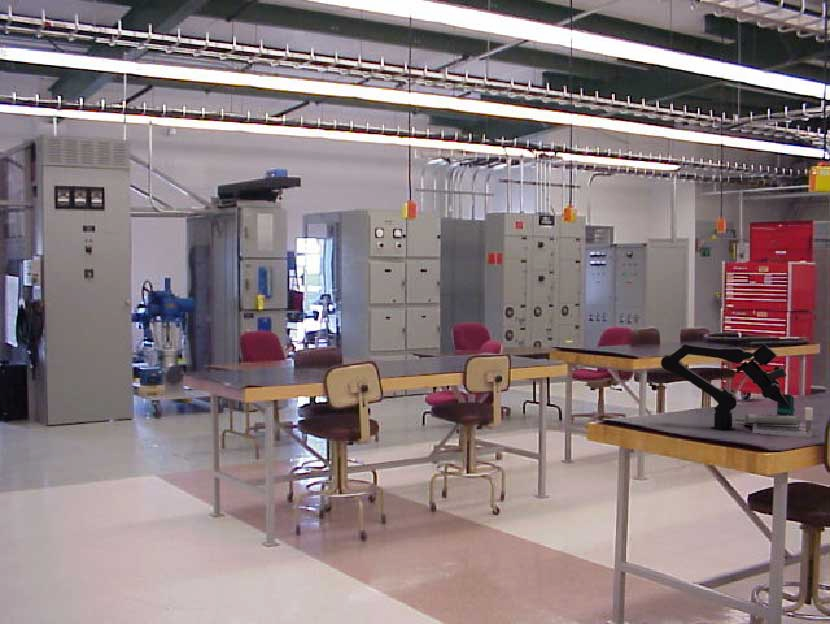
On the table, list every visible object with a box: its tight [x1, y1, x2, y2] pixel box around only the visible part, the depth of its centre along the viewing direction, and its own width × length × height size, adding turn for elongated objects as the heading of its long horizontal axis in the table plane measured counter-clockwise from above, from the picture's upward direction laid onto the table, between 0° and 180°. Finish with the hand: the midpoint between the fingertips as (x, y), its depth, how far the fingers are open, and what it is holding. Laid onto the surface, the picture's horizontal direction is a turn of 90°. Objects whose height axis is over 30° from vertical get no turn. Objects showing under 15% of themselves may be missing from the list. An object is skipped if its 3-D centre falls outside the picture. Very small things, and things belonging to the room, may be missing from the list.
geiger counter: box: [732, 412, 802, 428], centre depth 331 cm, size 14×6×25 cm
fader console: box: [752, 423, 813, 439], centre depth 319 cm, size 20×11×2 cm, turn 66°
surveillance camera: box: [776, 393, 795, 416], centre depth 345 cm, size 6×12×10 cm
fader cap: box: [804, 406, 814, 430], centre depth 316 cm, size 2×4×8 cm, turn 156°
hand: (787, 405), depth 318 cm, fingers closed
